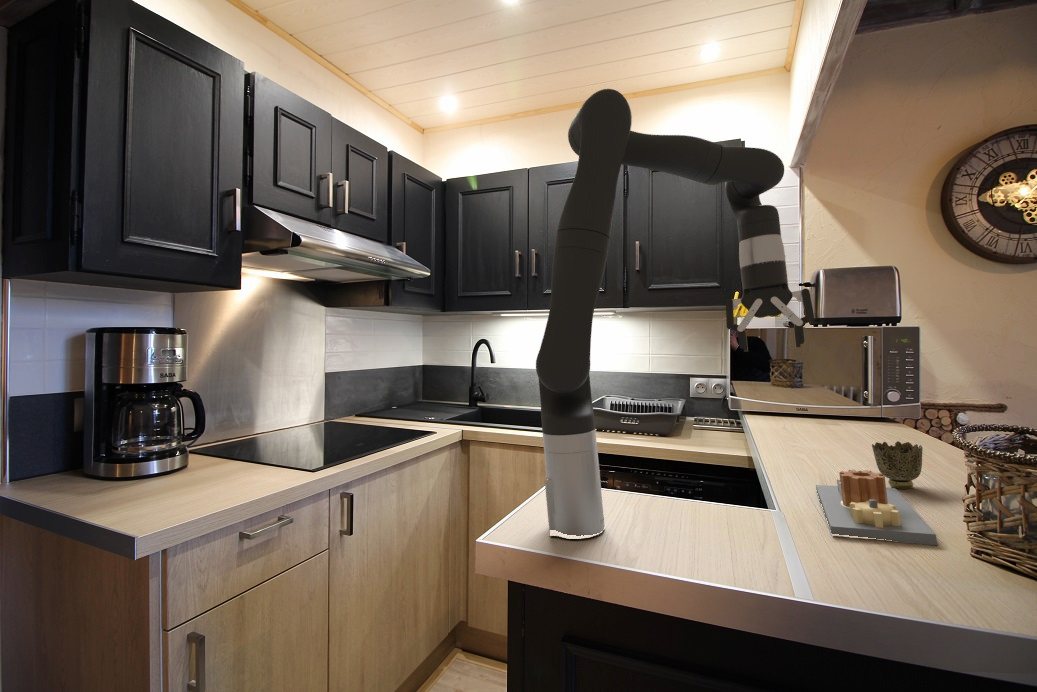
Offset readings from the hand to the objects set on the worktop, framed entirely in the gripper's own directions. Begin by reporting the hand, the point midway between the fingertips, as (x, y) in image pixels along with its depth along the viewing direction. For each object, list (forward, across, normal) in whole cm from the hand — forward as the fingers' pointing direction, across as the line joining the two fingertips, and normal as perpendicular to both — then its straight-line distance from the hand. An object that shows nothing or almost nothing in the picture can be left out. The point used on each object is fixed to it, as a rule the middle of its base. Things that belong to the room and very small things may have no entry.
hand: (771, 349), depth 85 cm
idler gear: (+26, +11, -5) cm, 29 cm away
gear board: (+28, +11, -5) cm, 31 cm away
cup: (+28, +19, +12) cm, 36 cm away
